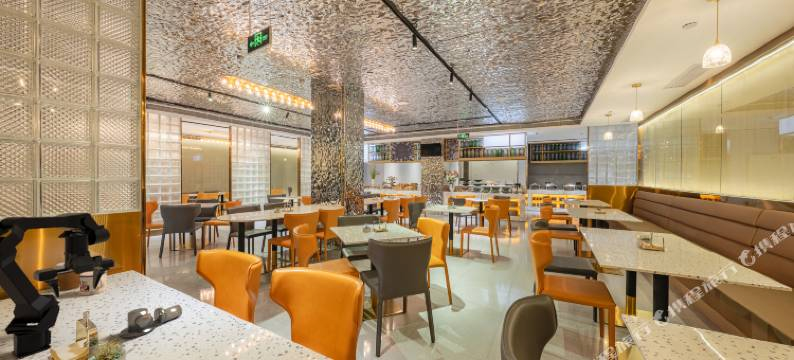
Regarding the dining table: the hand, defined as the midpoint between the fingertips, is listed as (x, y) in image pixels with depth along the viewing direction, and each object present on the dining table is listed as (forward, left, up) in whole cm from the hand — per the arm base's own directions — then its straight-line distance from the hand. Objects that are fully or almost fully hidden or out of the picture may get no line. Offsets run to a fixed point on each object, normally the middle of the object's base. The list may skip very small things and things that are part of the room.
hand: (76, 293), depth 105 cm
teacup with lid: (+18, +36, -12) cm, 42 cm away
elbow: (+8, -24, -11) cm, 28 cm away
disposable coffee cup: (+15, +53, -12) cm, 57 cm away
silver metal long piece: (+12, -23, -12) cm, 28 cm away
